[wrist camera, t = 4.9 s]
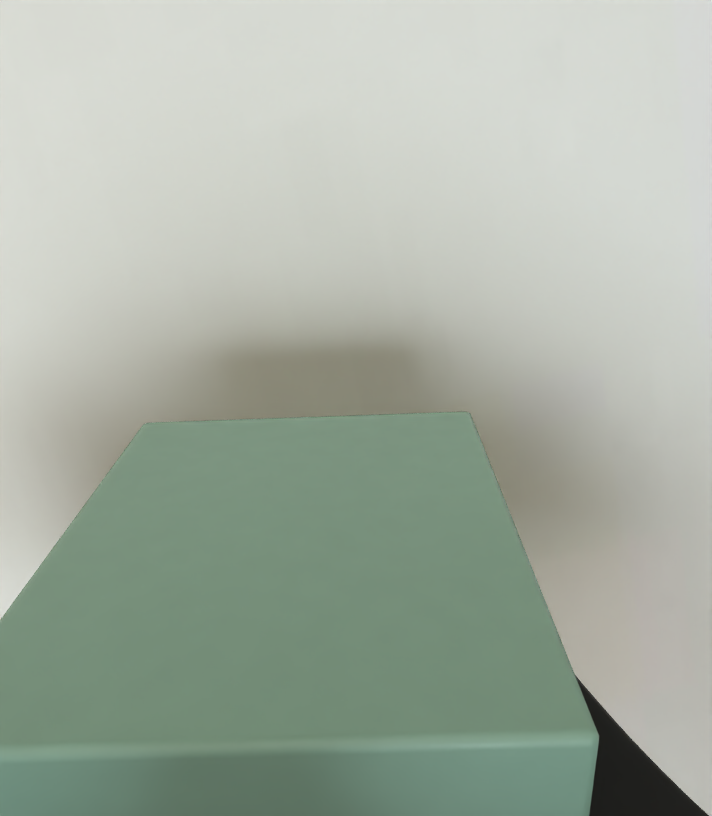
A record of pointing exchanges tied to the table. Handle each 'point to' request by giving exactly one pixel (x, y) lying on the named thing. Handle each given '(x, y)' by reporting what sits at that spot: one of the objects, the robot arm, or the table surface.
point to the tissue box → (292, 635)
